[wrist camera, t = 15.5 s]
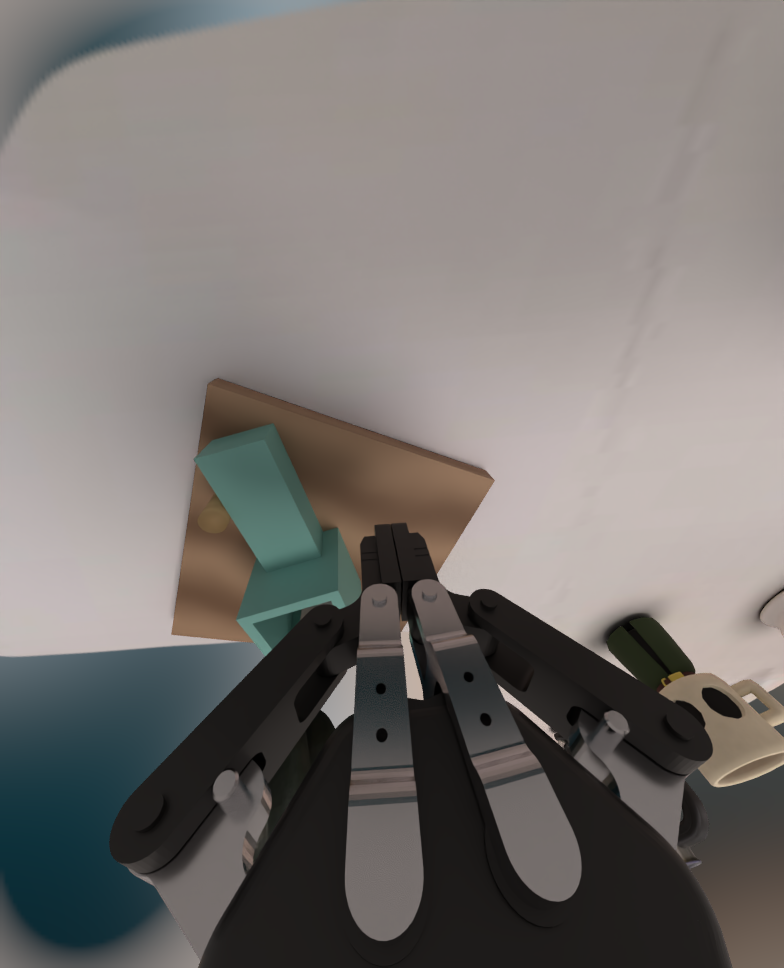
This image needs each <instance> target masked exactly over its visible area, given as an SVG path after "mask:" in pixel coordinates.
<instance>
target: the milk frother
mask: <svg viewBox="0 0 784 968" xmlns="http://www.w3.org/2000/svg"><path fill="white" fill-rule="evenodd" d="M554 737H555V739H556V740H558V743H561V741H562V742H563V743H566V745H565V750H566V751H567V752H568V753H569V754H570V755H571V756H572V757H573V755H572V753H571V751H570V748H569V744H568V741H567V740H566V739H565V738H563V737H562V736H561V735H560V734H559V733H556V734H554ZM682 809H683V820H682V821H681V822H680V825H679V833H678V842H677V853H678V854H679V855H680V857H681V858H682V859H683V860H684V862H685V863H686V864H687V866H688V867H689V869H690V868H692V867H695V866H697V865H699V864H701V863H702V861H701V860H699V859H697V858H696V857H695V856H694V854H693V853H692V851H691V849H690V847H692V846H694V845H696V844H698V843H700V842H702V841H703V840H704V839H705V838H706V837H707V834H708V831H709V821H708V816H707V812H706V810H705V808H704V806H703V804H702V802H701V801H700V799H699V798H698V796H697V795H696V794H695V792H694V791H693V790H692V789H691V787H690V786H689V785H688V783H687V782H686V781H685V782H684V790H683V799H682Z"/></svg>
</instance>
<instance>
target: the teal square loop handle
mask: <svg viewBox="0 0 784 968" xmlns="http://www.w3.org/2000/svg"><path fill="white" fill-rule="evenodd" d="M194 461H195V462H196V464H197V465H198V467H199V468H200V470H201V472H202V473H203V475H204V476H205V478H206V479H207V481H208V483H209V484H210V486H211V487H212V489H213V490H214V492H215V493H216V495H217V497H218V498H219V500H220V501H221V503H222V504H223V506H224V507H225V509H226V511H227V512H228V514H229V515H230V517H231V518H232V520H233V521H234V523H235V525H236V526H237V528H238V529H239V531H240V532H241V534H242V535H243V537H244V539H245V540H246V542H247V543H248V545H249V546H250V548H251V549H252V551H253V553H254V554H255V556H256V557H257V558H256V561H255V564H254V567H253V570H252V573H251V576H250V579H249V582H248V585H247V588H246V591H245V594H244V597H243V600H242V603H241V606H240V609H239V612H238V615H237V618H236V621H237V622H238V623H239V625H240V626H241V627H242V628H243V629H244V631H245V632H246V633H247V634H248V636H249V637H250V638H251V639H252V641H253V642H254V643H255V644H256V645H257V647H258V648H259V649H260V650H261V651H262V653H263V654H264V655H265V656H266V655H267V654H268V653H269V652H270V651H271V650H272V649H273V648H274V647H275V646H276V645H277V644H278V643H279V642H280V641H281V640H282V639H283V638H284V637H285V636H286V635H287V634H288V633H289V632H290V631H291V630H292V629H293V627H294V626H295V625H296V624H297V623H298V622H299V621H300V618H301V610H302V609H304V608H308V607H311V606H315V605H318V604H321V603H325V602H328V601H331V602H332V604H333V605H334V606H336V607H337V608H339V609H341V608H344V607H346V606H348V605H351V604H352V603H354V602H355V601H356V600H357V599H358V598H359V596H360V595H361V592H362V590H361V581H360V579H359V576H358V574H357V572H356V569H355V567H354V564H353V562H352V560H351V557H350V555H349V553H348V550H347V548H346V545H345V543H344V541H343V538H342V536H341V534H340V531H339V529H338V528H334V529H331V530H327V531H324V532H323V530H322V528H321V526H320V524H319V521H318V519H317V517H316V515H315V513H314V511H313V508H312V506H311V504H310V502H309V500H308V497H307V495H306V493H305V491H304V489H303V486H302V484H301V482H300V480H299V478H298V476H297V473H296V471H295V469H294V467H293V465H292V462H291V460H290V458H289V456H288V454H287V452H286V449H285V447H284V445H283V443H282V441H281V438H280V436H279V434H278V432H277V430H276V427H275V425H274V423H272V424H269V425H265V426H261V427H258V428H254V429H251V430H247V431H244V432H240V433H236V434H233V435H229V436H226V437H222V438H219V439H215V440H212V441H211V442H210V443H209V444H208V445H207V446H206V447H205V448H204V449H203V450H202V451H201V452H200V453H199V454H198V455H197V456H196V457H195V458H194Z"/></svg>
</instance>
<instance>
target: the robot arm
mask: <svg viewBox="0 0 784 968" xmlns="http://www.w3.org/2000/svg"><path fill="white" fill-rule="evenodd" d="M374 533H375V536H364V538H363V539H362V541H361V543H360V555H361V574H362V592H361V595H360V596H359V598H358V599H357V600H356V601H355V602H354V603H352V604H351V605H348V606H346V607H344V608H341V609H339V608H337V607H336V606H334V605H330V604H323V605H319V606H316V607H314V608H313V609H311V610H310V611H309V612H308V613H307V614H306V615H305V616H304V617H303V618H302V619H301V620H300V621H299V622H298V623H297V624H296V625H295V626H294V627H293V629H292V630H291V631H290V632H289V633H288V634H287V635H286V636H285V637H284V638H283V639H282V640H281V641H280V642H279V643H278V644H277V645H276V646H275V647H274V648H273V649H272V650H271V651H270V652H269V653H268V654H267V655H266V656H265V657H264V658H263V659H262V660H261V661H260V663H259V664H258V665H257V666H256V667H255V668H254V669H253V670H252V671H251V672H250V673H249V674H248V675H247V676H246V677H245V678H244V679H243V680H242V681H241V682H240V683H239V684H238V685H237V686H236V687H235V688H234V689H233V690H232V691H231V692H230V693H229V695H228V696H227V697H226V698H225V699H224V700H223V701H222V702H221V703H220V704H219V705H218V706H217V707H216V708H215V709H214V710H213V711H212V712H211V713H210V714H209V715H208V716H207V717H206V718H205V719H204V720H203V721H202V722H201V723H200V724H199V725H198V726H197V727H196V728H195V729H194V731H193V732H192V733H191V734H190V735H189V736H188V737H187V738H186V739H185V740H184V741H183V742H182V743H181V744H180V745H179V746H178V747H177V748H176V749H175V750H174V751H173V752H172V753H171V754H170V755H169V756H168V757H167V758H166V759H165V761H164V762H162V763H161V765H160V766H159V767H158V768H157V769H156V770H155V771H154V772H153V773H152V774H151V775H150V776H149V777H148V778H147V779H146V780H145V781H144V782H143V783H142V784H141V785H140V786H139V787H138V788H137V789H136V790H135V791H134V792H133V794H132V795H131V796H130V797H129V798H128V800H127V801H126V802H125V804H124V805H123V807H122V808H121V810H120V812H119V813H118V816H117V817H116V819H115V822H114V824H113V827H112V830H111V834H110V841H109V843H110V852H111V855H112V856H113V858H114V859H115V860H116V861H117V862H119V863H121V864H123V865H124V866H126V867H128V869H129V871H130V872H131V873H132V874H134V875H135V876H137V877H139V878H141V879H143V880H144V881H146V882H148V883H150V884H152V885H154V886H155V887H156V889H157V890H158V892H159V894H160V895H161V897H162V899H163V900H164V902H165V904H166V905H167V907H168V909H169V910H170V912H171V913H172V915H173V917H174V918H175V920H176V922H177V923H178V925H179V927H180V928H181V930H182V931H183V933H184V935H185V936H186V938H187V940H188V941H189V943H190V945H191V946H192V948H193V949H194V951H195V953H196V954H197V956H198V958H199V959H200V964H199V967H198V968H732V964H731V961H730V958H729V954H728V951H727V947H726V944H725V941H724V938H723V934H722V931H721V928H720V925H719V923H718V921H717V918H716V915H715V913H714V911H713V909H712V907H711V905H710V902H709V900H708V898H707V897H706V894H705V893H704V891H703V889H702V888H701V886H700V884H699V882H698V881H697V879H696V878H695V876H694V875H693V873H692V872H691V870H690V869H689V867H688V866H687V864H686V863H685V862H684V860H683V859H682V858H681V857H680V855H679V854H678V853H677V842H678V833H679V825H680V816H681V808H682V799H683V790H684V782H685V778H686V777H687V776H689V775H690V774H691V773H692V772H694V771H695V770H696V769H697V768H699V767H700V766H701V765H702V764H704V763H705V762H706V761H707V760H709V759H710V757H711V756H712V754H713V745H712V742H711V739H710V737H709V735H708V733H707V732H706V730H705V729H704V727H703V726H702V725H701V724H700V722H699V721H698V720H697V719H696V718H695V717H694V716H693V715H692V714H690V713H689V712H688V711H687V710H685V709H684V708H682V707H681V706H679V705H678V704H676V703H674V702H673V701H671V700H669V699H668V698H666V697H665V696H663V695H661V694H660V693H658V692H657V691H655V690H653V689H652V688H650V687H648V686H647V685H645V684H644V683H642V682H640V681H639V680H637V679H636V678H634V677H632V676H631V675H629V674H627V673H626V672H624V671H623V670H621V669H619V668H618V667H616V666H615V665H613V664H611V663H610V662H608V661H606V660H605V659H603V658H602V657H600V656H598V655H597V654H595V653H594V652H592V651H590V650H589V649H587V648H585V647H584V646H582V645H581V644H579V643H577V642H576V641H574V640H573V639H571V638H569V637H568V636H566V635H564V634H563V633H561V632H560V631H558V630H556V629H555V628H553V627H552V626H550V625H548V624H547V623H545V622H543V621H542V620H540V619H539V618H537V617H535V616H534V615H532V614H531V613H529V612H527V611H526V610H524V609H523V608H521V607H519V606H518V605H516V604H514V603H513V602H511V601H510V600H508V599H506V598H505V597H503V596H502V595H500V594H498V593H497V592H495V591H492V590H489V589H479V590H476V591H474V592H473V593H472V594H471V596H470V597H469V596H464V595H458V594H454V593H452V592H450V591H448V590H446V588H445V587H444V586H443V585H442V584H441V583H440V582H439V580H438V577H437V574H436V571H435V568H434V565H433V562H432V559H431V556H430V553H429V550H428V548H427V544H426V541H425V539H424V538H423V537H422V536H421V535H420V534H419V533H418V532H415V533H409V530H408V527H407V523H406V522H404V523H391V525H390V524H378V525H374ZM400 614H401V620H402V621H408V624H409V629H410V631H409V639H410V643H411V647H412V650H413V654H414V658H415V661H416V666H417V669H418V673H419V676H420V680H421V684H422V689H423V698H424V700H417V699H411V698H407V688H406V676H405V665H404V654H403V646H402V644H401V633H400ZM355 665H356V686H355V707H354V714H353V715H351V716H349V717H348V718H347V719H345V720H344V721H343V722H342V723H341V724H340V725H339V726H338V727H337V728H336V729H335V730H334V731H333V733H332V734H331V735H330V737H329V738H328V740H327V741H326V743H325V744H324V746H323V748H322V749H321V751H320V753H319V754H318V756H317V758H316V759H315V761H314V763H313V764H312V766H311V768H310V769H309V771H308V773H307V774H306V776H305V778H304V779H303V781H302V783H301V785H300V786H299V788H298V790H297V791H296V793H295V795H294V796H293V798H292V800H291V801H290V803H289V805H288V806H287V808H286V810H285V811H284V813H283V815H282V816H281V818H280V820H279V821H278V823H277V825H276V826H275V828H274V830H273V831H272V833H271V835H270V836H269V838H268V840H267V841H266V843H265V845H264V846H263V848H262V850H261V851H260V853H259V855H258V856H257V858H256V860H255V861H254V863H253V856H254V851H255V847H256V844H257V841H258V838H259V836H260V834H261V832H262V830H263V828H264V826H265V824H266V822H267V820H268V817H269V814H270V811H271V805H272V793H271V789H270V786H269V784H268V783H269V782H270V780H271V779H272V778H273V776H274V775H275V773H276V772H277V770H278V769H279V768H280V766H281V765H282V763H283V762H284V760H285V759H286V758H287V756H288V755H289V753H290V752H291V751H292V749H293V748H294V746H295V745H296V743H297V742H298V741H299V739H300V738H301V736H302V735H303V733H304V732H305V731H306V729H307V728H308V726H309V725H310V724H311V722H312V721H313V719H314V718H315V716H316V715H317V714H318V712H319V711H320V709H321V708H322V706H323V705H324V704H325V702H326V701H327V699H328V698H329V697H330V695H331V694H332V692H333V691H334V689H335V688H336V687H337V685H338V684H339V682H340V681H341V679H342V678H343V676H344V675H345V674H346V672H347V669H349V668H351V667H353V666H355ZM497 684H498V685H500V686H501V687H502V688H503V689H505V690H506V691H507V692H508V693H510V694H511V695H512V696H513V697H514V698H516V699H517V700H518V701H519V702H521V703H522V704H523V705H524V706H525V707H527V708H528V709H529V710H530V711H532V712H533V713H534V714H535V715H536V716H538V717H539V718H540V719H541V720H543V721H544V722H545V723H546V724H548V725H549V726H550V727H551V728H552V729H554V730H555V731H556V732H557V733H559V734H560V735H561V736H562V737H563V738H565V739H566V740H567V741H568V744H569V748H570V751H571V753H572V755H573V757H572V756H571V755H570V754H569V753H568V752H567V751H566V750H564V749H563V748H562V747H561V746H560V745H559V744H558V743H556V742H555V741H554V740H553V739H552V738H551V737H550V736H548V735H547V734H546V733H545V732H544V731H543V730H542V729H541V728H539V727H538V726H537V725H536V724H535V723H534V722H533V721H531V720H530V719H529V718H528V717H527V716H526V715H525V714H523V713H522V712H521V711H520V710H519V709H517V708H516V707H515V706H513V705H512V704H510V703H509V702H507V701H505V699H504V697H503V695H502V693H501V691H500V689H499V687H498V685H497Z"/></svg>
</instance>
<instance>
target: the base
mask: <svg viewBox="0 0 784 968" xmlns="http://www.w3.org/2000/svg"><path fill="white" fill-rule="evenodd" d="M272 423H274V425H275V427H276V430H277V432H278V434H279V436H280V438H281V441H282V443H283V445H284V447H285V449H286V452H287V454H288V456H289V458H290V460H291V462H292V465H293V467H294V469H295V471H296V473H297V476H298V478H299V480H300V482H301V484H302V486H303V489H304V491H305V493H306V495H307V497H308V500H309V502H310V504H311V506H312V508H313V511H314V513H315V515H316V517H317V519H318V521H319V524H320V526H321V528H322V530H323V532H324V531H327V530H331V529H334V528H338V529H339V531H340V534H341V536H342V538H343V541H344V543H345V545H346V548H347V550H348V553H349V555H350V557H351V560H352V562H353V564H354V567H355V569H356V572H357V574H358V576H359V579H360V581H361V590H362V574H361V555H360V543H361V541H362V539H363V538H364V536H375V533H374V525H378V524H390V525H391V523H404V522H406V523H407V527H408V530H409V533H415V532H418V533H419V534H420V535H421V536H422V537H423V538H424V539H425V541H426V544H427V548H428V550H429V553H430V556H431V559H432V562H433V565H434V568H435V571H436V574H437V573H438V571H439V570H440V568H441V567H442V565H443V563H444V562H445V560H446V558H447V557H448V555H449V554H450V552H451V550H452V549H453V547H454V546H455V544H456V542H457V541H458V539H459V537H460V536H461V534H462V533H463V531H464V529H465V528H466V526H467V525H468V523H469V521H470V520H471V518H472V516H473V515H474V513H475V512H476V510H477V508H478V507H479V505H480V504H481V502H482V500H483V499H484V497H485V495H486V494H487V492H488V491H489V489H490V487H491V486H492V484H493V483H494V481H495V480H494V479H493V478H492V477H491V476H490V475H489V474H488V473H487V471H485V470H482V469H480V468H477V467H474V466H471V465H468V464H465V463H462V462H459V461H456V460H453V459H451V458H448V457H445V456H442V455H439V454H436V453H433V452H430V451H427V450H424V449H422V448H419V447H416V446H413V445H410V444H407V443H404V442H401V441H398V440H395V439H393V438H390V437H387V436H384V435H381V434H378V433H375V432H372V431H369V430H367V429H364V428H361V427H358V426H355V425H352V424H349V423H346V422H343V421H340V420H338V419H335V418H332V417H329V416H326V415H323V414H320V413H317V412H314V411H311V410H309V409H306V408H303V407H300V406H297V405H294V404H291V403H288V402H285V401H282V400H280V399H277V398H274V397H271V396H268V395H265V394H262V393H259V392H256V391H253V390H251V389H248V388H245V387H242V386H239V385H236V384H233V383H230V382H227V381H224V380H222V379H219V378H217V379H215V380H214V381H212V382H210V383H208V385H207V392H206V399H205V406H204V413H203V420H202V427H201V434H200V441H199V447H198V454H199V453H200V452H201V451H202V450H203V449H204V448H205V447H206V446H207V445H208V444H209V443H210V442H211V441H212V440H215V439H219V438H222V437H226V436H229V435H233V434H236V433H240V432H244V431H247V430H251V429H254V428H258V427H261V426H265V425H269V424H272ZM198 454H197V455H198ZM256 558H257V557H256V556H255V554H254V553H253V551H252V549H251V548H250V546H249V545H248V543H247V542H246V540H245V539H244V537H243V535H242V534H241V532H240V531H239V529H238V528H237V526H236V525H235V523H234V521H233V520H232V518H231V517H230V515H229V514H228V512H227V511H226V509H225V507H224V506H223V504H222V503H221V501H220V500H219V498H218V497H217V495H216V493H215V492H214V490H213V489H212V487H211V486H210V484H209V483H208V481H207V479H206V478H205V476H204V475H203V473H202V472H201V470H200V468H199V467H198V465H197V464H196V468H195V475H194V482H193V489H192V496H191V503H190V510H189V516H188V523H187V530H186V537H185V544H184V551H183V558H182V565H181V572H180V579H179V586H178V592H177V599H176V606H175V613H174V620H173V627H172V634H171V635H181V636H191V637H201V638H211V639H221V640H231V641H241V642H252V643H254V642H253V641H252V639H251V638H250V637H249V636H248V634H247V633H246V632H245V631H244V629H243V628H242V627H241V626H240V625H239V623H238V622H237V621H236V618H237V615H238V612H239V609H240V606H241V603H242V600H243V597H244V594H245V591H246V588H247V585H248V582H249V579H250V576H251V573H252V570H253V567H254V564H255V561H256ZM323 604H330V605H333V604H332V602H331V601H328V602H325V603H321V604H318V605H315V606H311V607H308V608H304V609H302V610H301V618H300V620H301V619H302V618H303V617H304V616H305V615H306V614H307V613H308V612H309V611H310V610H311V609H313V608H314V607H316V606H319V605H323ZM406 623H407V621H402V620H401V614H400V633H401V631H402V629H403V628H404V626H405V625H406Z"/></svg>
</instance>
